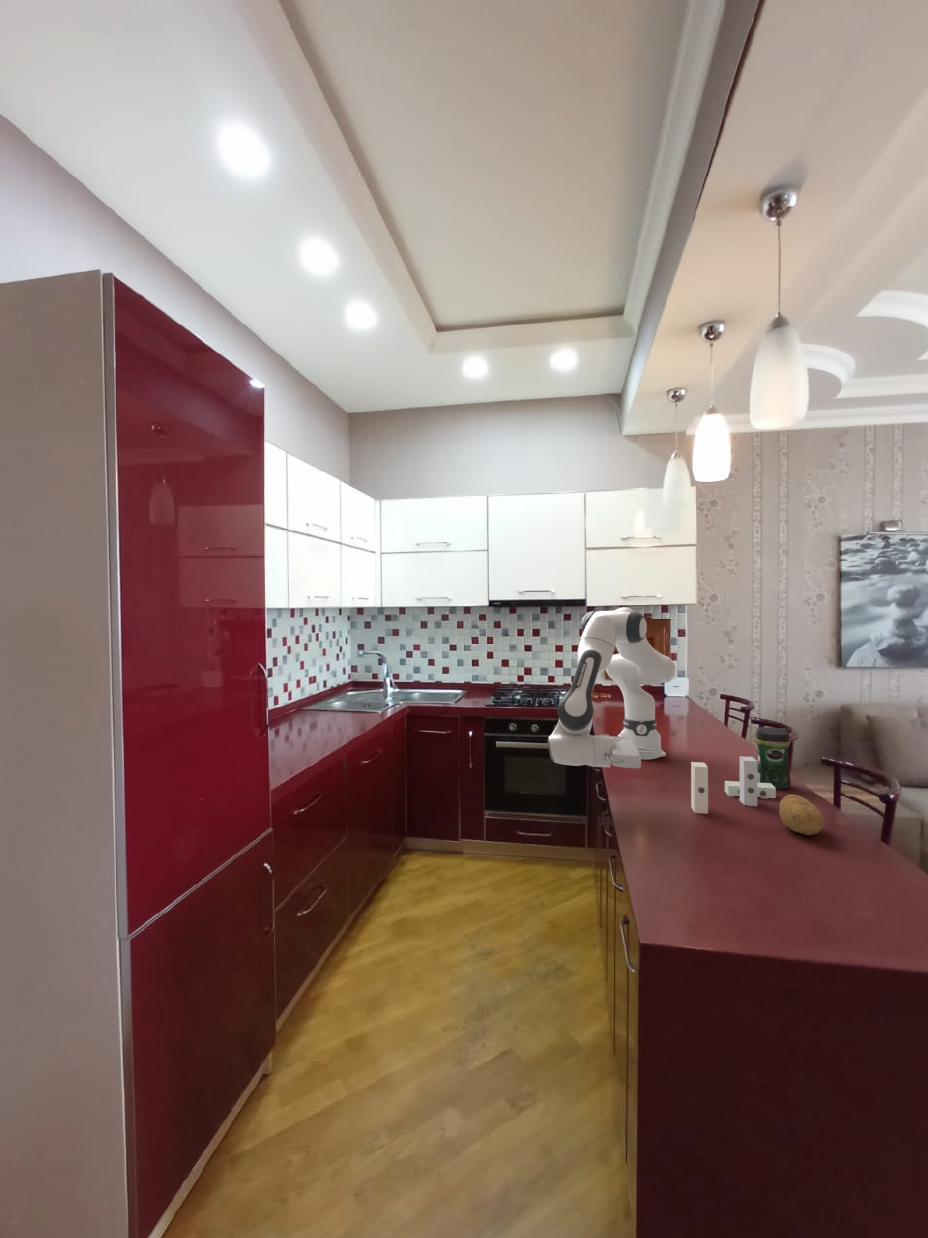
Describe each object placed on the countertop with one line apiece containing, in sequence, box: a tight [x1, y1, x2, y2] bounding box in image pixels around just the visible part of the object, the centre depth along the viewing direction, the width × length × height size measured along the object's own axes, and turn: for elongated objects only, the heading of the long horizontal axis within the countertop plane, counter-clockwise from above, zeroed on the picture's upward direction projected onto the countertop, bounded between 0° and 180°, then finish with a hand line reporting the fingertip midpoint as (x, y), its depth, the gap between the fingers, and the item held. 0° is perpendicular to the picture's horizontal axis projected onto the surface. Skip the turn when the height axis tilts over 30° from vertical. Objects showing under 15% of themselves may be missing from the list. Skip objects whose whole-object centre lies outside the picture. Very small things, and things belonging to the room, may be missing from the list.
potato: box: [778, 794, 825, 837], centre depth 138 cm, size 10×14×8 cm
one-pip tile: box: [690, 761, 709, 815], centre depth 153 cm, size 5×4×13 cm
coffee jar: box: [755, 726, 792, 790], centre depth 172 cm, size 10×8×19 cm
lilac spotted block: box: [739, 756, 758, 807], centre depth 158 cm, size 5×4×13 cm
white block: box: [724, 780, 777, 800], centre depth 165 cm, size 5×4×13 cm
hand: (654, 753), depth 155 cm, fingers closed
